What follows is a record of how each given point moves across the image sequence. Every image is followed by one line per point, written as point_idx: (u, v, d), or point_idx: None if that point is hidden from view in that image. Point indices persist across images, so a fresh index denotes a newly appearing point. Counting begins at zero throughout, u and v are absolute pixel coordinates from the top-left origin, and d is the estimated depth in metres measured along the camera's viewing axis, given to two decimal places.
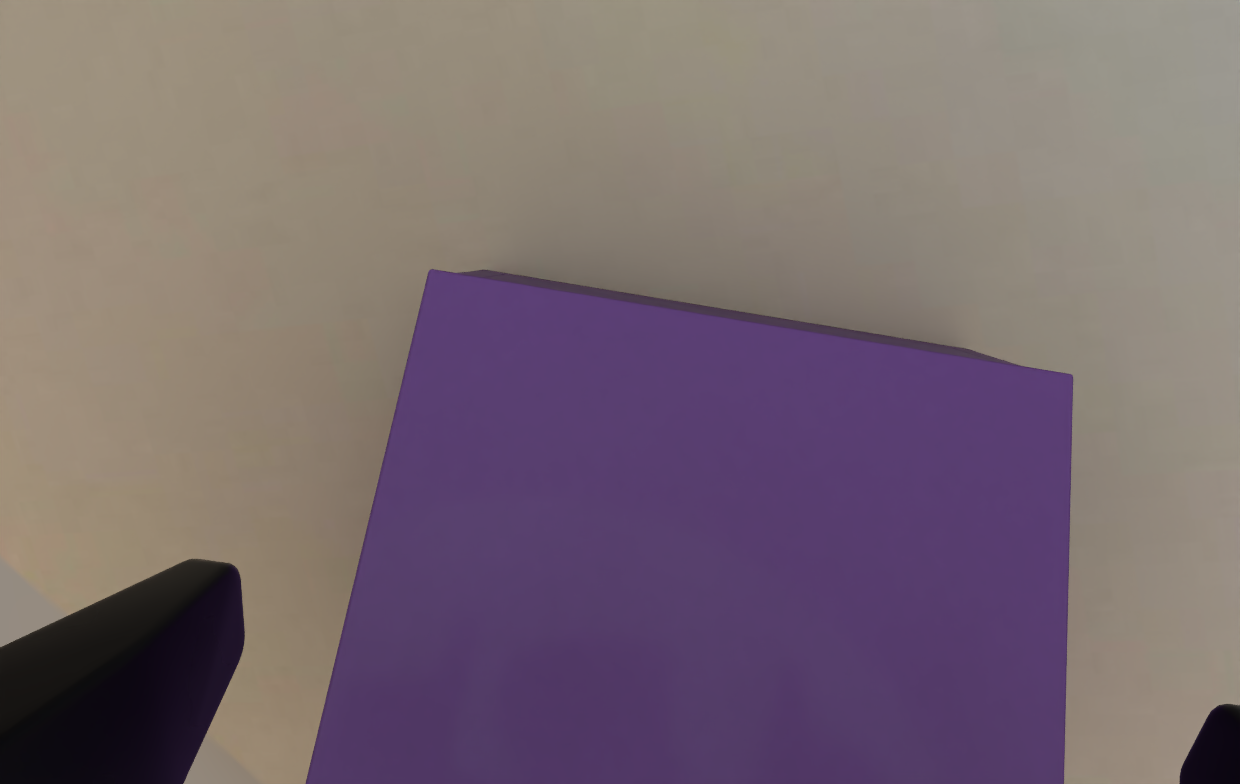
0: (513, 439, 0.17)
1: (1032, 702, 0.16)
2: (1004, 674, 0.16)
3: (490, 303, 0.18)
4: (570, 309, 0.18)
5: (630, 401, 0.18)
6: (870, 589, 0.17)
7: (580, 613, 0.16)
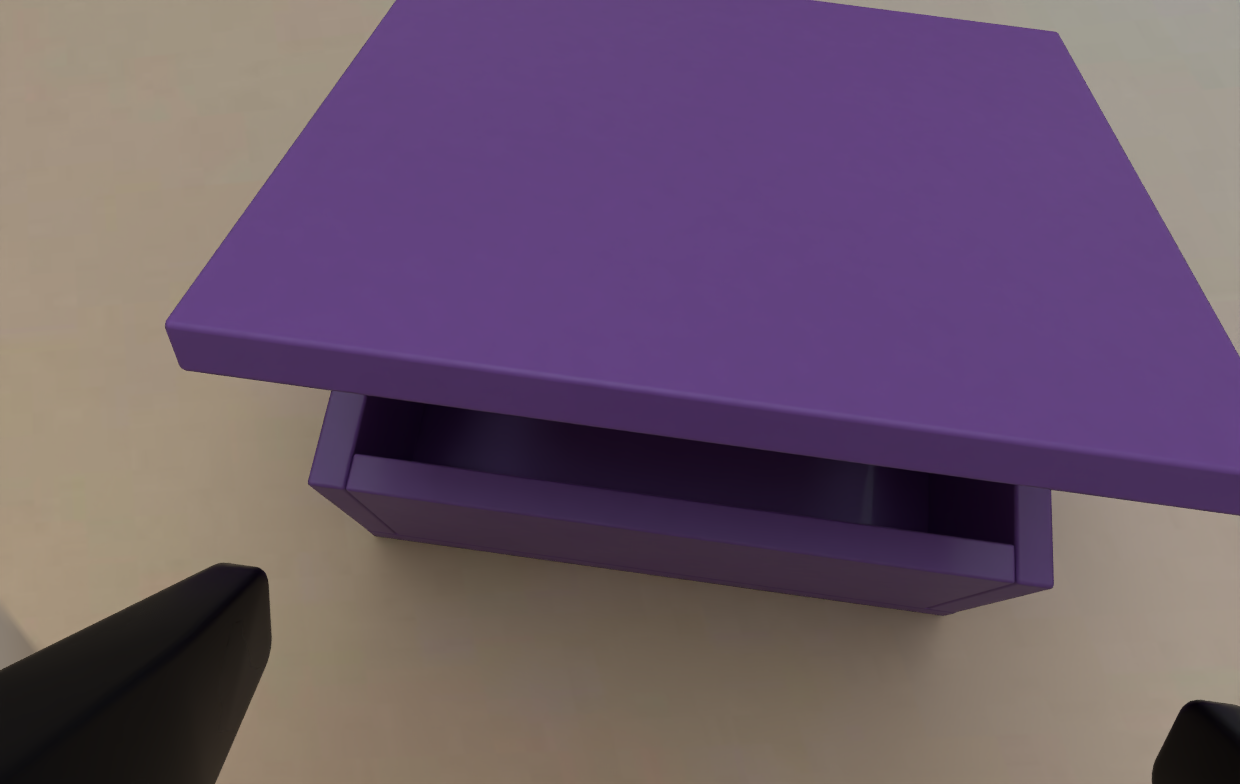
0: (512, 28, 0.17)
1: (1115, 198, 0.14)
2: (1076, 180, 0.14)
3: None
4: None
5: (631, 17, 0.17)
6: (907, 124, 0.15)
7: (590, 121, 0.14)
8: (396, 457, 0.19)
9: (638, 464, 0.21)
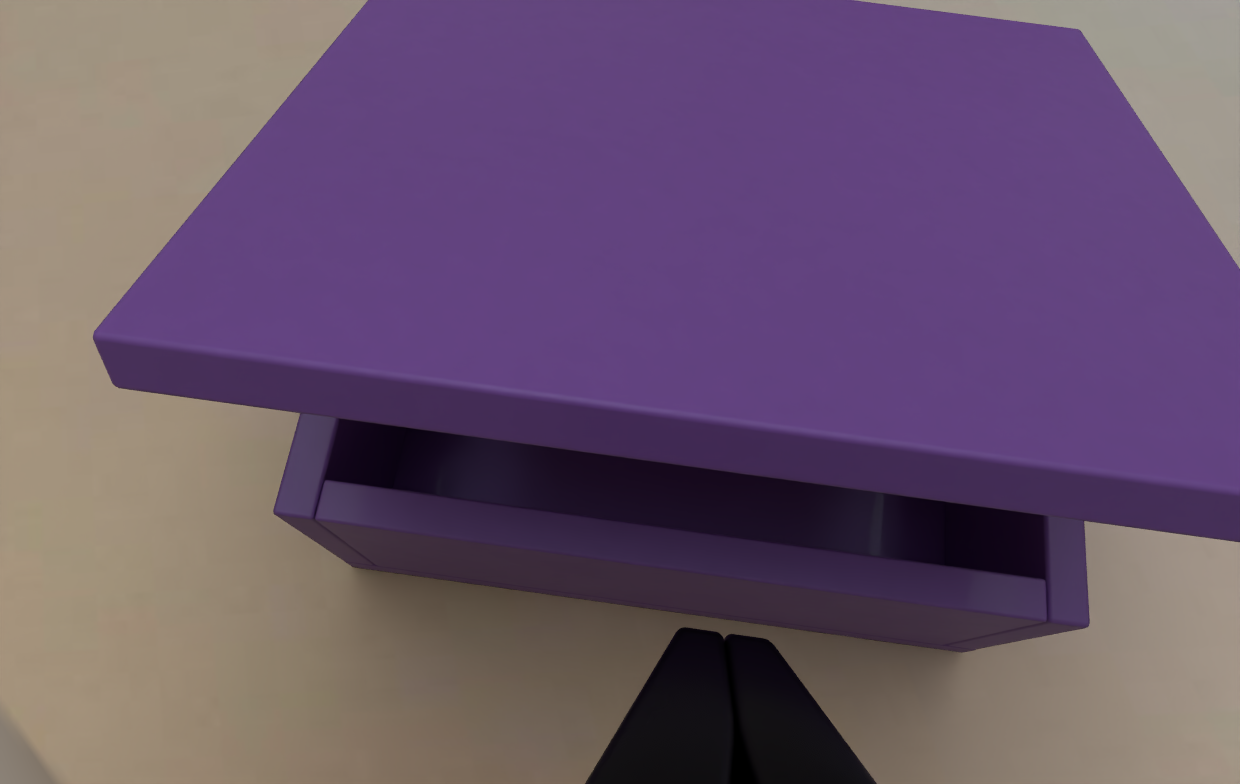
0: (499, 21, 0.15)
1: (1157, 200, 0.13)
2: (1111, 181, 0.13)
3: None
4: None
5: (627, 11, 0.16)
6: (926, 122, 0.14)
7: (581, 117, 0.13)
8: (374, 483, 0.18)
9: (635, 489, 0.19)
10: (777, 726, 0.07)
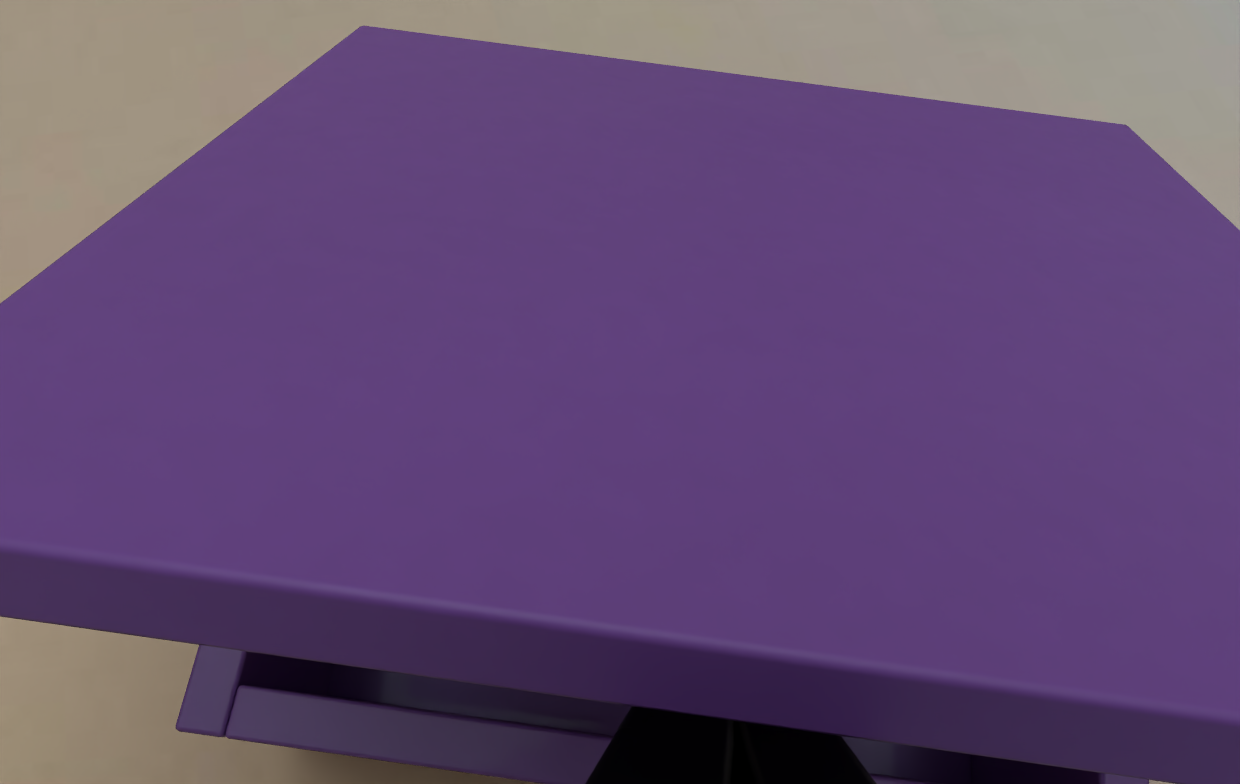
0: (450, 102, 0.13)
1: None
2: (1220, 290, 0.10)
3: (431, 42, 0.15)
4: (527, 52, 0.15)
5: (605, 96, 0.14)
6: (976, 219, 0.11)
7: (545, 207, 0.10)
8: None
9: None
10: None
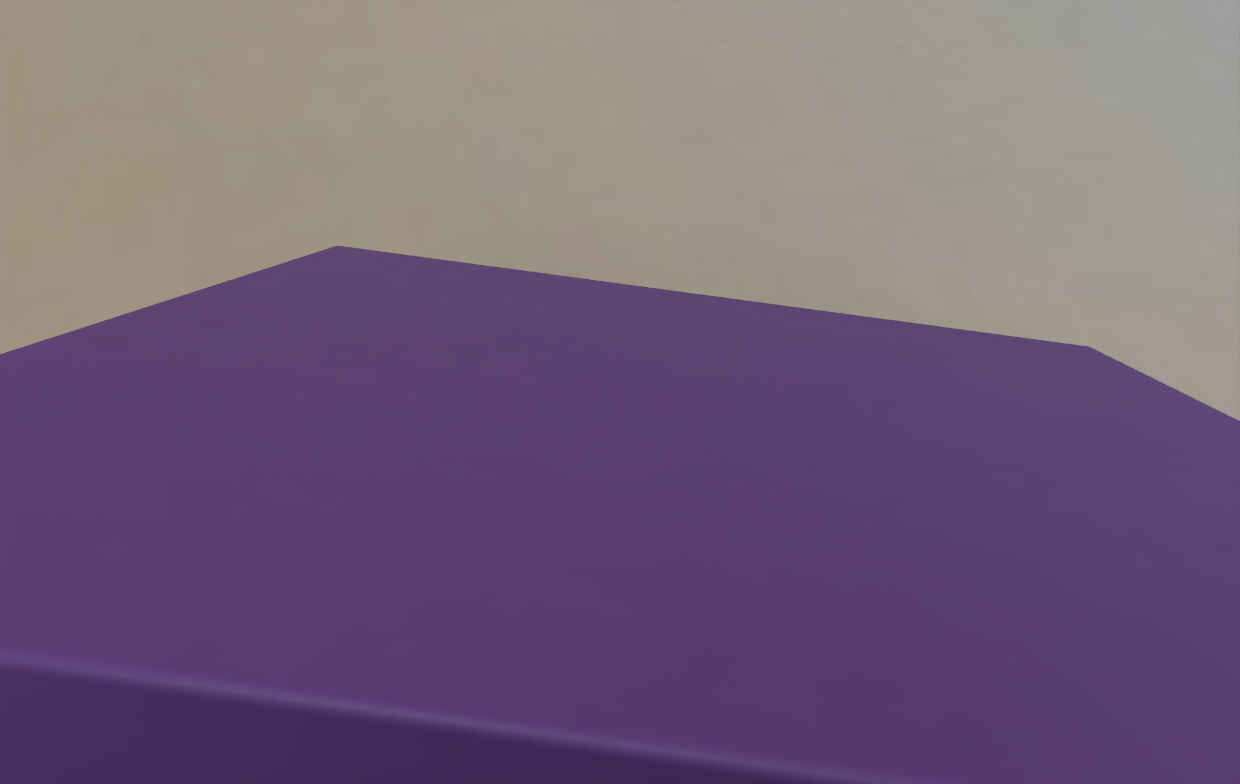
0: (419, 294, 0.12)
1: None
2: None
3: (404, 259, 0.15)
4: (499, 270, 0.15)
5: (576, 299, 0.14)
6: (969, 396, 0.11)
7: (514, 364, 0.10)
8: None
9: None
10: None
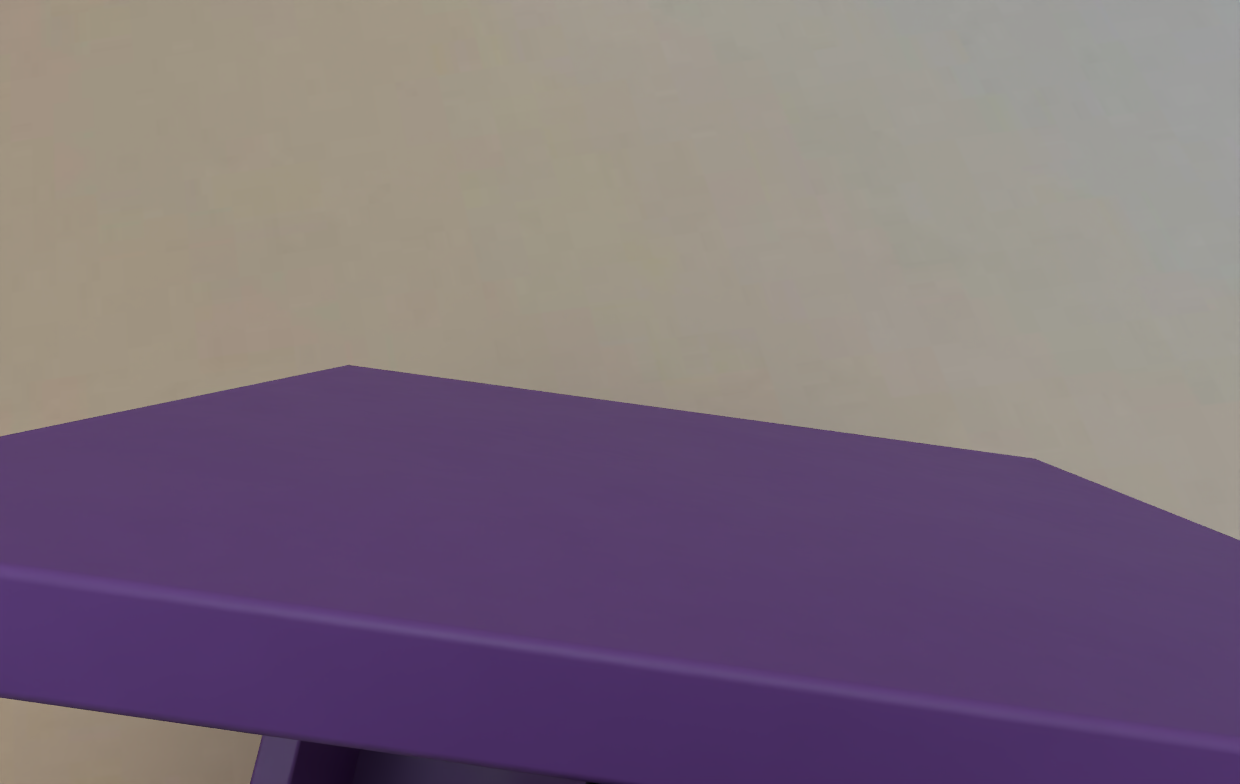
0: (427, 399, 0.14)
1: (1226, 547, 0.10)
2: (1160, 532, 0.11)
3: (409, 376, 0.17)
4: (496, 387, 0.17)
5: (568, 408, 0.15)
6: (920, 485, 0.12)
7: (517, 447, 0.11)
8: None
9: None
10: None
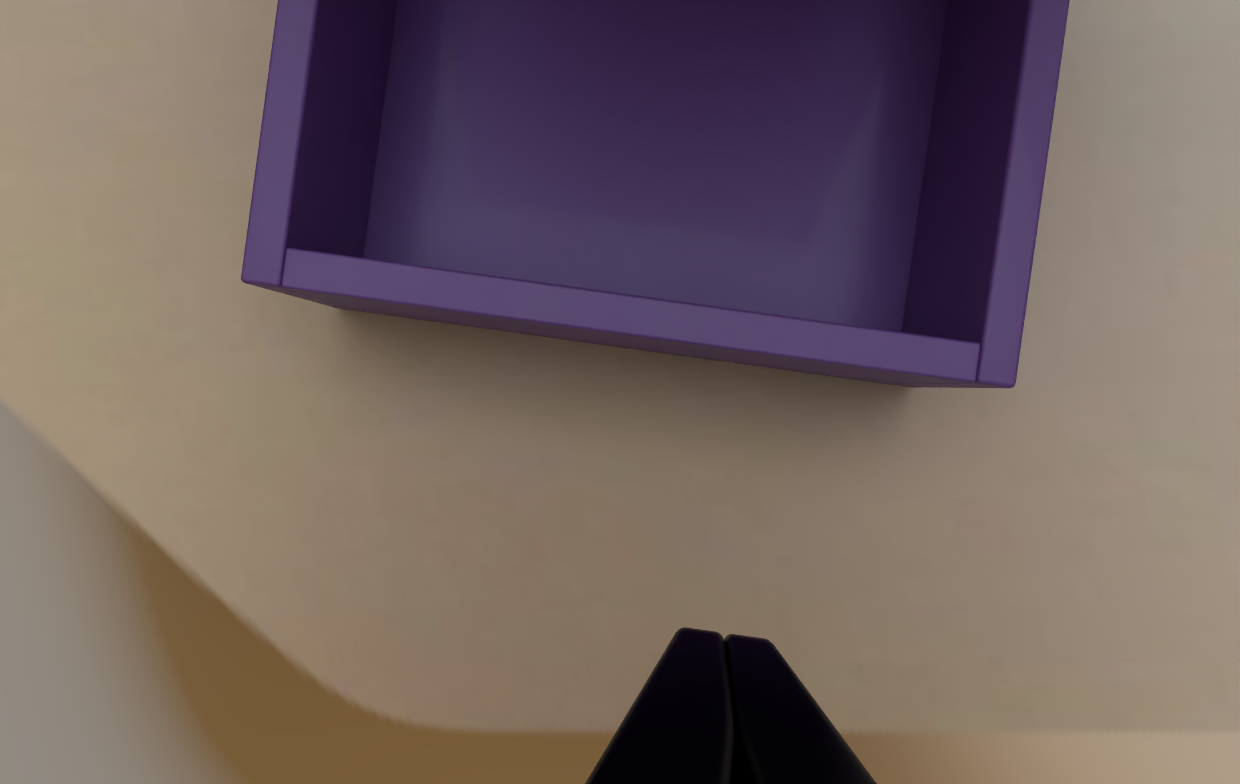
0: None
1: None
2: None
3: None
4: None
5: None
6: None
7: None
8: (344, 234, 0.18)
9: (605, 234, 0.20)
10: (777, 726, 0.06)
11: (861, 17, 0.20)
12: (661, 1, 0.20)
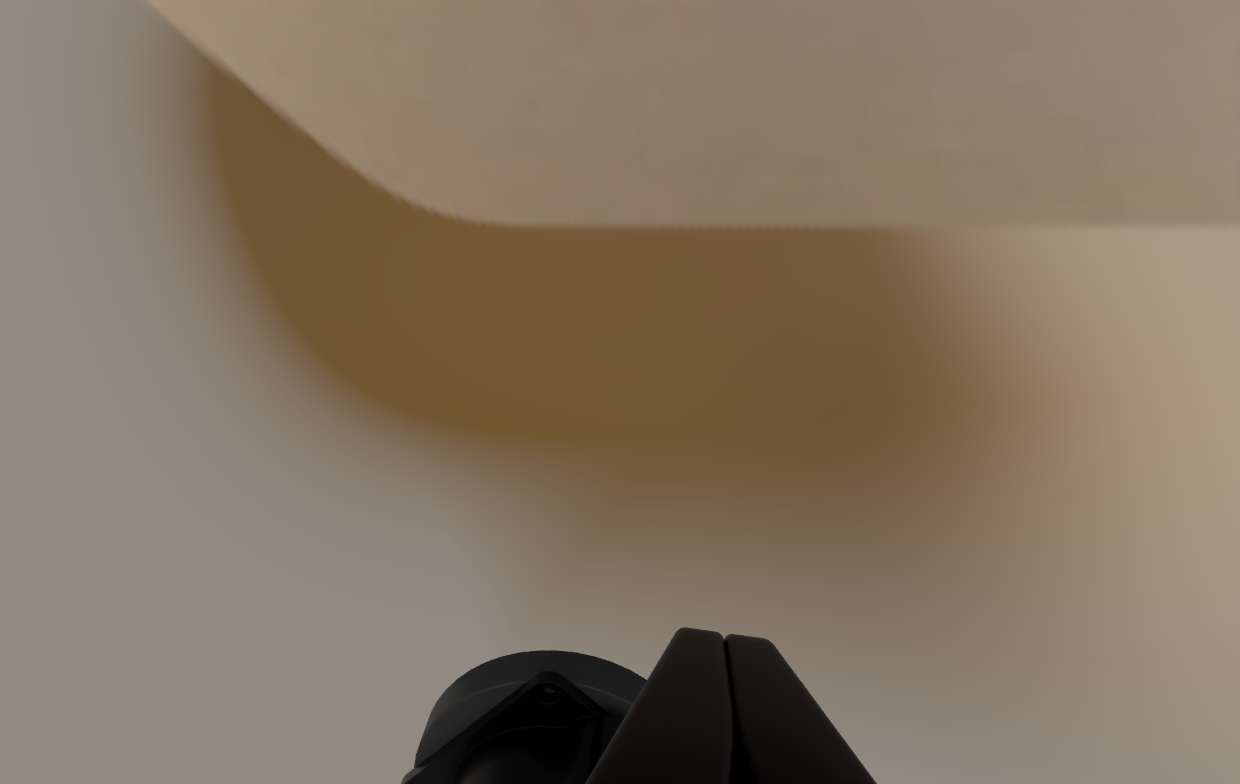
0: None
1: None
2: None
3: None
4: None
5: None
6: None
7: None
8: None
9: None
10: (777, 726, 0.07)
11: None
12: None
